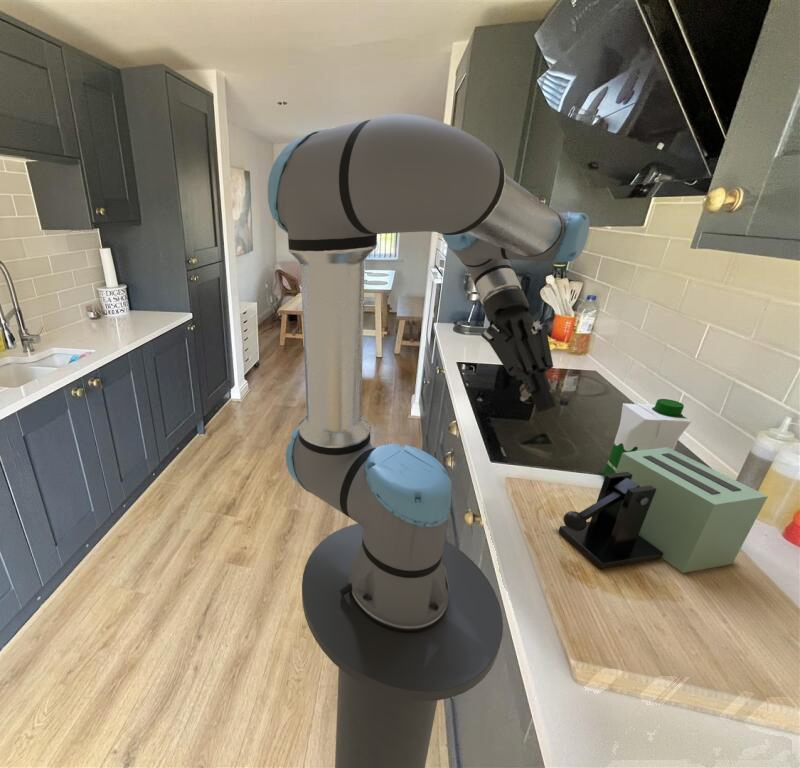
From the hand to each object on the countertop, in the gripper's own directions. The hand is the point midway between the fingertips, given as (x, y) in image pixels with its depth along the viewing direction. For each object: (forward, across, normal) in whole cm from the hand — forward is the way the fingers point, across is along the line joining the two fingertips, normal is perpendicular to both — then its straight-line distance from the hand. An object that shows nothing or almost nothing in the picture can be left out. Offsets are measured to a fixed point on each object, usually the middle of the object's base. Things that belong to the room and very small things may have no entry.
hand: (546, 408), depth 70 cm
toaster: (+24, -21, -10) cm, 33 cm away
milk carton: (+14, -30, -20) cm, 38 cm away
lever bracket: (+24, -10, -10) cm, 27 cm away
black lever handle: (+18, -6, -4) cm, 20 cm away
